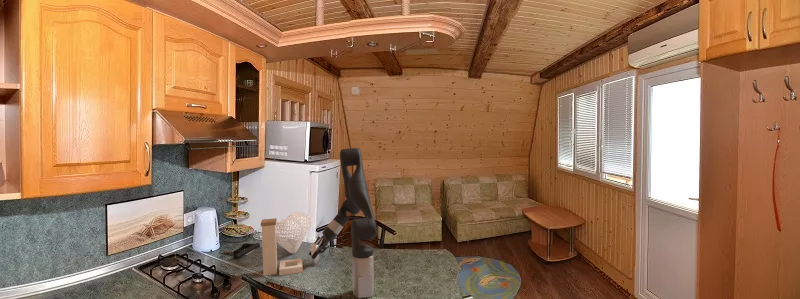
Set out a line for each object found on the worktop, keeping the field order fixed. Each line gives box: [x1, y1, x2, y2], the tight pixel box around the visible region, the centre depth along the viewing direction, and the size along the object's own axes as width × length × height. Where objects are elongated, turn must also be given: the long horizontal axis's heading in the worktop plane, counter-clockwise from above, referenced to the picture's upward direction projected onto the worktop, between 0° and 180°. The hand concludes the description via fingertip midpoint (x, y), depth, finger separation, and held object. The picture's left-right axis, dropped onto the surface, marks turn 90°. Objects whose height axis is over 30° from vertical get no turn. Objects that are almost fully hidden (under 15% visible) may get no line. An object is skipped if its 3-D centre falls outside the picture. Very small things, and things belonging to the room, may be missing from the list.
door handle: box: [222, 242, 261, 260], centre depth 187 cm, size 3×20×16 cm
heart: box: [276, 211, 312, 254], centre depth 185 cm, size 28×16×22 cm, turn 173°
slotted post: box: [260, 217, 304, 276], centre depth 161 cm, size 11×19×27 cm, turn 108°
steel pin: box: [310, 243, 320, 267], centre depth 169 cm, size 4×4×11 cm
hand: (311, 256), depth 168 cm, fingers closed on steel pin, 4 cm apart
